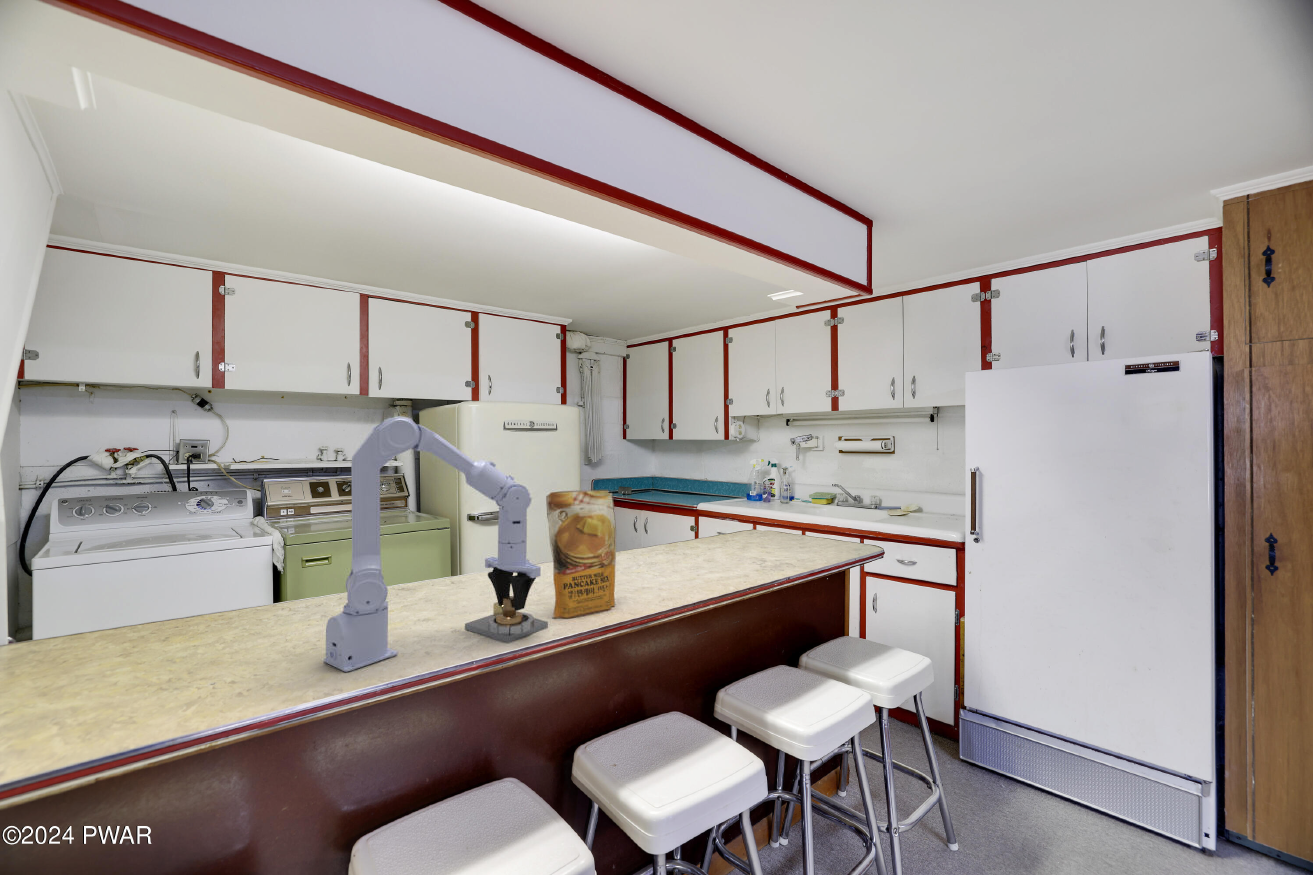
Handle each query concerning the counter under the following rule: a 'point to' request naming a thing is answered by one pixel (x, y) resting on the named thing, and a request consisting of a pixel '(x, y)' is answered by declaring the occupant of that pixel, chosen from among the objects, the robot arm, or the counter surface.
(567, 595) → the pancake mix bag
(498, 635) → the carrier
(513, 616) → the gear
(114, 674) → the counter surface
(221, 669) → the counter surface
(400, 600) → the counter surface
